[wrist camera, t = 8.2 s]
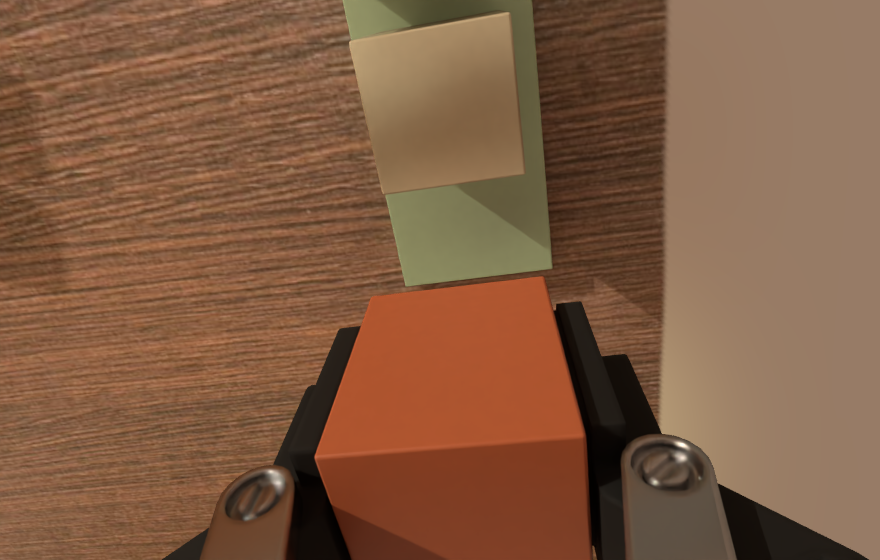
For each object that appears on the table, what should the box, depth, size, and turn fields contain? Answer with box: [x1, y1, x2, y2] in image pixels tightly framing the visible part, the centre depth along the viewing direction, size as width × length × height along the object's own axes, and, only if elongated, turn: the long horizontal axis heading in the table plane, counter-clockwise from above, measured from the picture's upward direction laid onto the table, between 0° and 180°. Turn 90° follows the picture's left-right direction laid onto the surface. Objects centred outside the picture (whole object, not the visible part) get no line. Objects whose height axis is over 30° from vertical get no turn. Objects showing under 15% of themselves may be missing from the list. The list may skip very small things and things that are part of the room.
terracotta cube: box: [315, 276, 593, 560], centre depth 11 cm, size 4×4×5 cm
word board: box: [343, 0, 553, 286], centre depth 16 cm, size 15×6×6 cm, turn 9°
